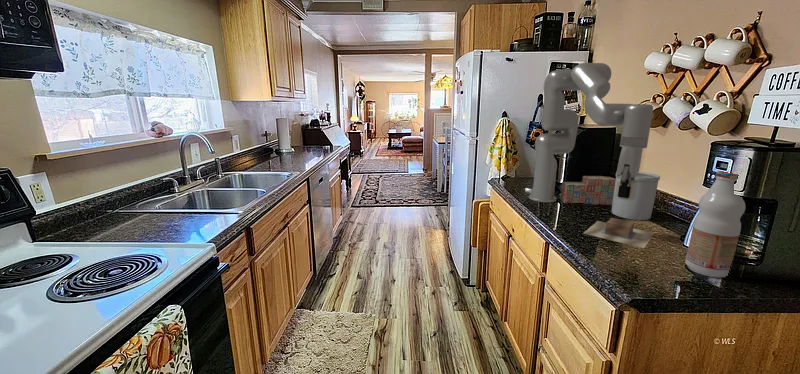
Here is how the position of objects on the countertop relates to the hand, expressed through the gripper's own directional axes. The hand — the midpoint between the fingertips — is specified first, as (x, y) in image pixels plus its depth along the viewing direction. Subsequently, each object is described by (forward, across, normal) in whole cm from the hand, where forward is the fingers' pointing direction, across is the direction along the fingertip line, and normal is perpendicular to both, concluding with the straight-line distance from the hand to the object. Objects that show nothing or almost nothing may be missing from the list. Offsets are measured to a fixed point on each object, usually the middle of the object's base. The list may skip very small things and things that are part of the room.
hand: (625, 195), depth 116 cm
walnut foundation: (+14, 0, 0) cm, 14 cm away
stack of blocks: (+15, -37, -21) cm, 45 cm away
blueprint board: (+15, 0, 0) cm, 15 cm away
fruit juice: (+15, +12, +24) cm, 31 cm away
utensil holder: (+15, -30, -2) cm, 34 cm away
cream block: (+1, 0, 0) cm, 1 cm away
